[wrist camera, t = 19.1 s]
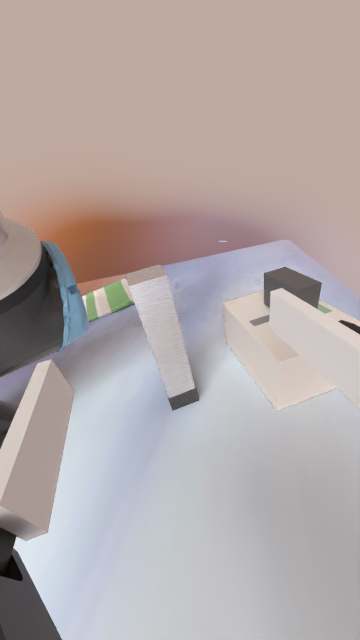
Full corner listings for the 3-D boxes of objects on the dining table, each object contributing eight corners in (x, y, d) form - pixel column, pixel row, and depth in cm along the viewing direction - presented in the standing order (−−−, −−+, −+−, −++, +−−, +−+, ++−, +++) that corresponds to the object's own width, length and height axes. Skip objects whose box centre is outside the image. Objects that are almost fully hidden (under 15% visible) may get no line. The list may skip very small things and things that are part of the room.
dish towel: (58, 309, 67) (53, 301, 66) (131, 283, 73) (128, 275, 72) (54, 337, 53) (48, 328, 52) (145, 303, 59) (142, 293, 57)
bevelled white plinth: (276, 411, 26) (279, 361, 22) (226, 343, 38) (221, 302, 34) (357, 380, 27) (374, 327, 23) (284, 324, 39) (286, 282, 35)
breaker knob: (293, 325, 26) (296, 290, 23) (263, 303, 31) (263, 273, 28) (316, 317, 26) (321, 282, 24) (283, 297, 31) (285, 266, 29)
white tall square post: (172, 410, 29) (128, 286, 20) (166, 389, 32) (125, 274, 23) (198, 400, 30) (167, 274, 20) (190, 380, 33) (159, 264, 23)
